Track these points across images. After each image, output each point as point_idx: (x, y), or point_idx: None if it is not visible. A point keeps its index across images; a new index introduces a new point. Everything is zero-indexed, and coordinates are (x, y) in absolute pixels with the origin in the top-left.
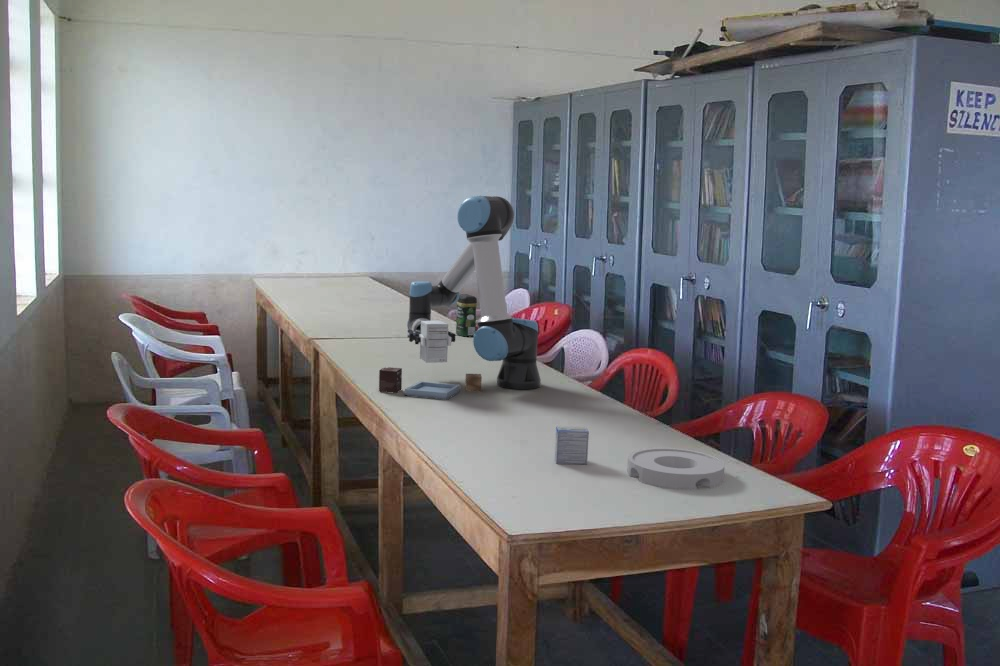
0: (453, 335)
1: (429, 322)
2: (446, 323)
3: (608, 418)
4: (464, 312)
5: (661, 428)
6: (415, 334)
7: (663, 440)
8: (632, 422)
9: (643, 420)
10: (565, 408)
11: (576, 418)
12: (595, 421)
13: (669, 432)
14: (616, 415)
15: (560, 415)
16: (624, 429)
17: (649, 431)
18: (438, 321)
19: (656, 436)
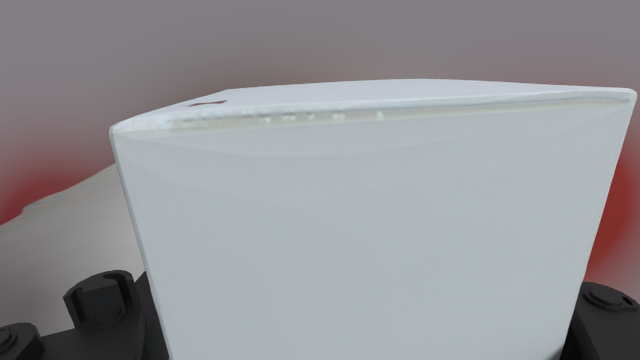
0: (38, 334)
1: (411, 79)
2: (224, 90)
3: (53, 230)
4: None
5: (51, 201)
6: (622, 293)
7: (114, 179)
8: (48, 217)
9: (14, 223)
10: (33, 283)
11: (107, 231)
12: (97, 220)
13: (66, 192)
14: (10, 242)
15: (113, 243)
16: (105, 198)
17: (85, 194)
18: (271, 91)
19: (103, 185)
